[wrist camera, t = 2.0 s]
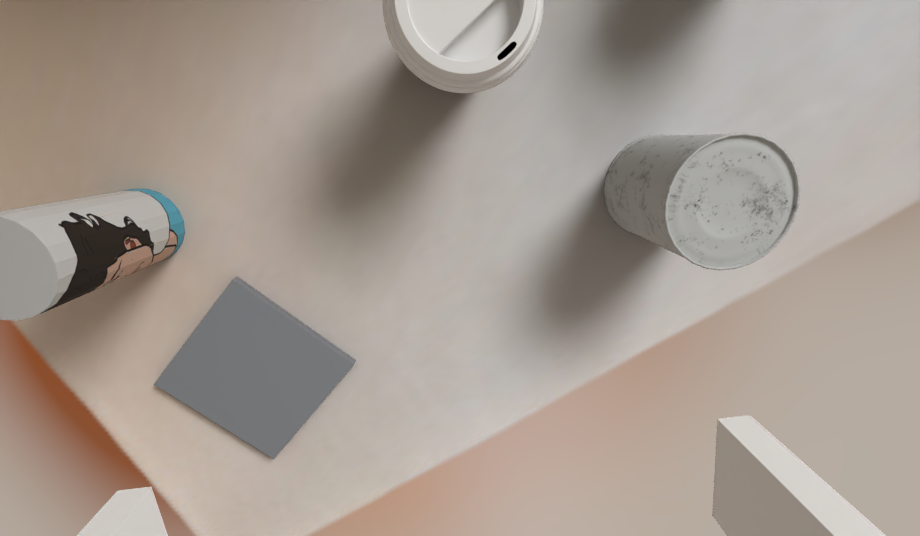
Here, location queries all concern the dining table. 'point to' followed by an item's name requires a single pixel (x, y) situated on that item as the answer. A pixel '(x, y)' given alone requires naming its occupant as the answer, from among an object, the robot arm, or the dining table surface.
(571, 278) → the dining table surface
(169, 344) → the dining table surface
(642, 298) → the dining table surface
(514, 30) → the coffee cup
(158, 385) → the coaster
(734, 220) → the grey concrete cylinder
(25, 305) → the white printed cylinder
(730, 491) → the robot arm
